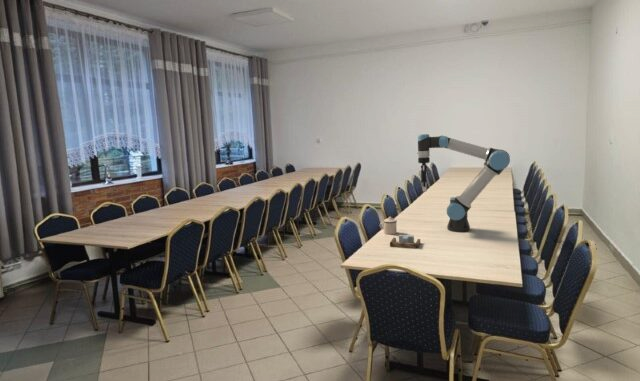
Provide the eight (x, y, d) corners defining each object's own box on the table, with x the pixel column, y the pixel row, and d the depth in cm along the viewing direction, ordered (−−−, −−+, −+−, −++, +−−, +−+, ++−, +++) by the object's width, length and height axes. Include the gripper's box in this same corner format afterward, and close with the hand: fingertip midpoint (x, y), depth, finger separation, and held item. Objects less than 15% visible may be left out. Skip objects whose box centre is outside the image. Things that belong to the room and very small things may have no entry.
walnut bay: (420, 242, 254) (420, 239, 254) (417, 248, 243) (417, 244, 243) (393, 241, 260) (393, 237, 260) (390, 246, 249) (389, 242, 249)
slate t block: (413, 242, 256) (413, 235, 255) (412, 245, 249) (412, 238, 248) (399, 241, 259) (399, 234, 259) (397, 244, 252) (397, 238, 251)
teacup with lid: (398, 231, 283) (398, 215, 281) (395, 235, 275) (394, 218, 273) (381, 230, 288) (381, 214, 286) (378, 233, 280) (377, 217, 278)
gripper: (418, 156, 280) (419, 189, 284) (417, 158, 268) (418, 192, 271) (430, 156, 278) (430, 189, 281) (429, 157, 266) (429, 192, 269)
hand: (424, 191), depth 276 cm, fingers closed
